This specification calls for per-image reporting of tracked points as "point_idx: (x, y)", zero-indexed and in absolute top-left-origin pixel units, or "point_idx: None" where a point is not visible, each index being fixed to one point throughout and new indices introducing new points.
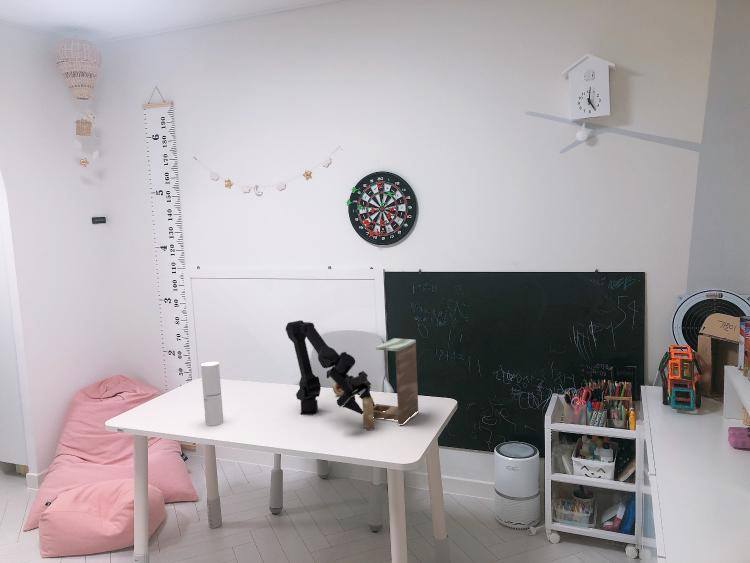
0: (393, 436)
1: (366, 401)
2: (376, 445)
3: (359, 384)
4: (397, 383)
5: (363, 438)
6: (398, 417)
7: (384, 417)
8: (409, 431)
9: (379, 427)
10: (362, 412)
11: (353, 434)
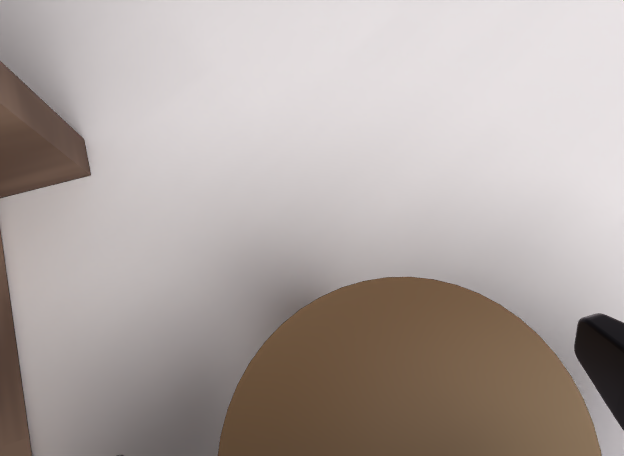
0: (337, 45)
1: (544, 357)
2: (582, 31)
3: None
4: None
5: (562, 230)
6: (42, 134)
7: (4, 424)
8: (155, 9)
9: (240, 307)
10: (611, 321)
11: None
